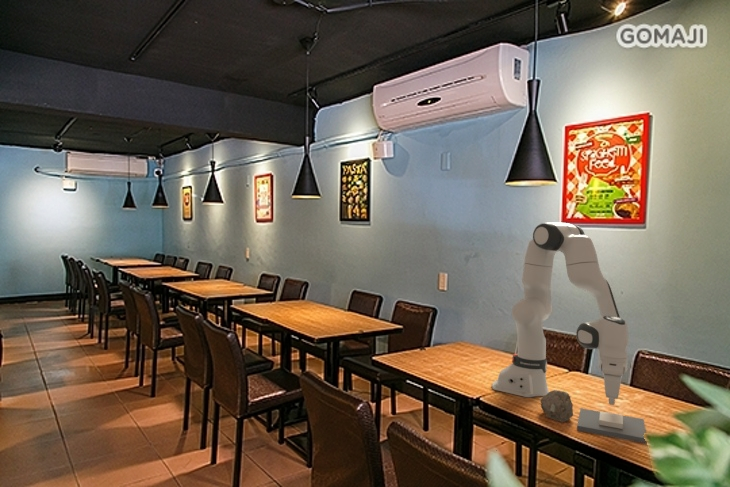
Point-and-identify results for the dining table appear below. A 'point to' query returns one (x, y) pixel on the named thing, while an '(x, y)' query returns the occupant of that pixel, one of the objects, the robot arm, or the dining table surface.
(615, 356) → the robot arm
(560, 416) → the rock
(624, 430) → the board
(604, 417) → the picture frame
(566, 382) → the dining table surface
